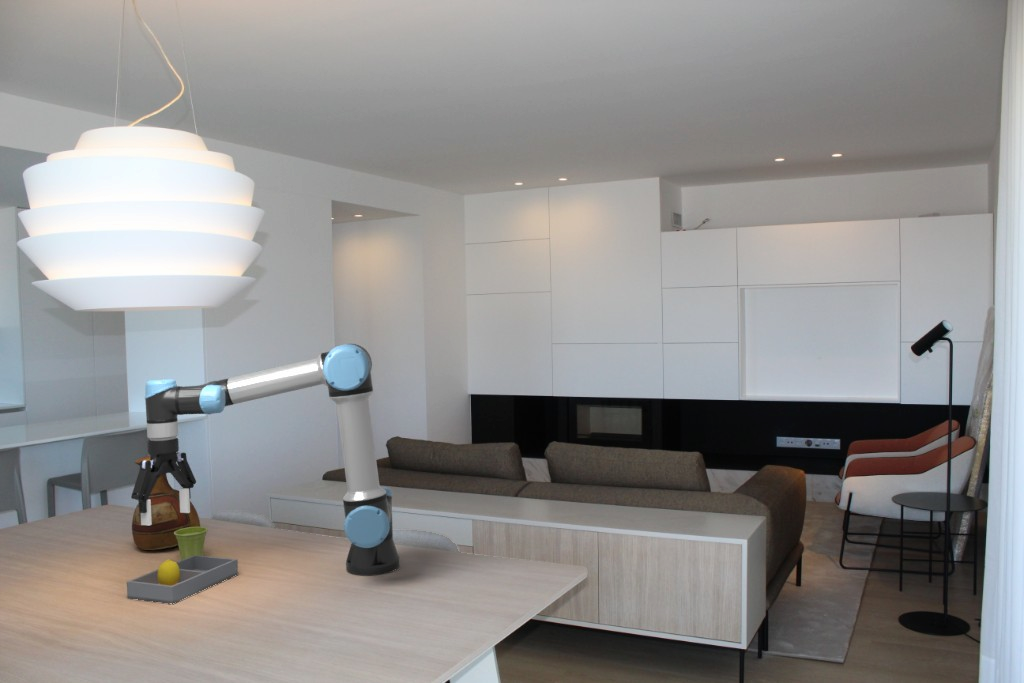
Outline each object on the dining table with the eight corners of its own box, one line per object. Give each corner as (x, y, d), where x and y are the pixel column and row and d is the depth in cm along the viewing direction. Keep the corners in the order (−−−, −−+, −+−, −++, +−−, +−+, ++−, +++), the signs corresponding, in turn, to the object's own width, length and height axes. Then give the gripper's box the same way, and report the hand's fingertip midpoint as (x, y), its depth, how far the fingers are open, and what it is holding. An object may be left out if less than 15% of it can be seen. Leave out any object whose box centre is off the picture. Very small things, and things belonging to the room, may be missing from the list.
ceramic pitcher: (132, 543, 267) (129, 452, 266) (198, 535, 275) (195, 446, 274) (132, 558, 249) (129, 461, 248) (203, 549, 257) (199, 455, 256)
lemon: (153, 591, 215) (152, 561, 214) (170, 585, 219) (169, 555, 219) (167, 594, 212) (166, 563, 212) (185, 587, 217) (184, 557, 217)
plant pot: (186, 565, 241) (185, 536, 240) (168, 560, 246) (167, 531, 246) (214, 557, 248) (213, 529, 248) (197, 552, 254) (196, 525, 253)
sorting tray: (237, 575, 230) (237, 559, 230) (172, 604, 207) (172, 587, 207) (195, 570, 235) (194, 555, 235) (127, 598, 212) (126, 581, 212)
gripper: (185, 431, 227) (189, 507, 228) (113, 445, 204) (117, 529, 205) (207, 431, 225) (210, 508, 225) (136, 446, 201) (140, 531, 202)
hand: (166, 518), depth 215 cm, fingers open, 13 cm apart
